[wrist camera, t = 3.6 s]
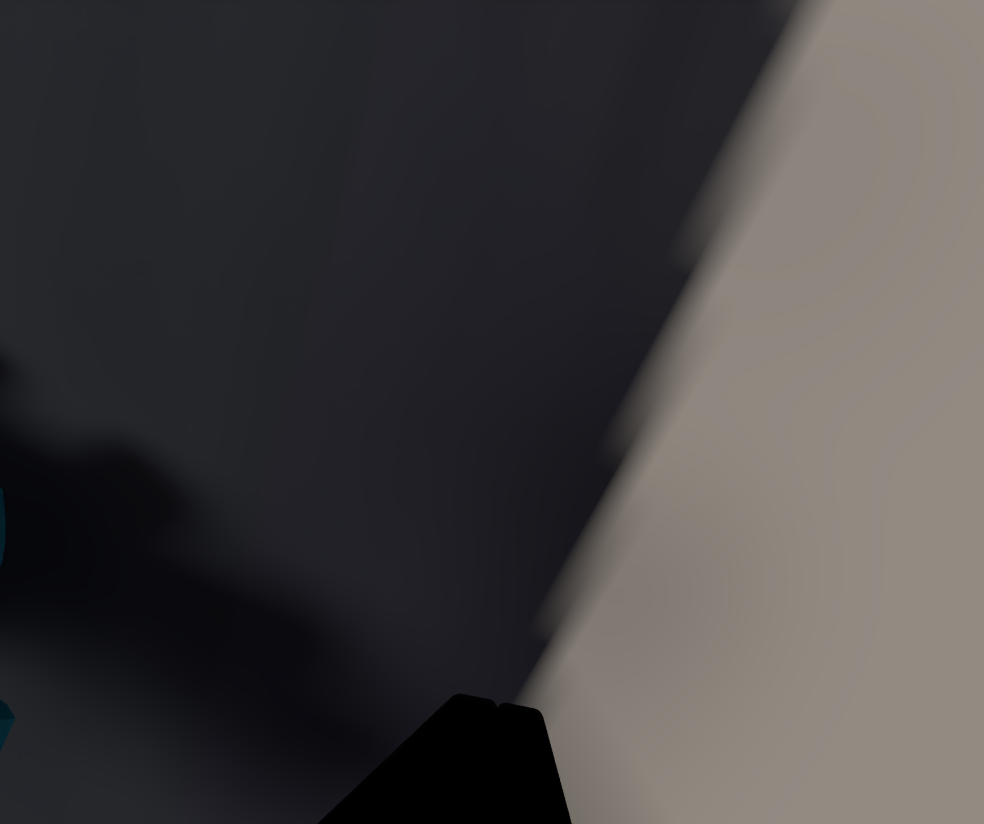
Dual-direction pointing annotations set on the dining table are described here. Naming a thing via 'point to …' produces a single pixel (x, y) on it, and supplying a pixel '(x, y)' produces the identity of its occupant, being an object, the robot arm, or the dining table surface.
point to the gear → (3, 717)
